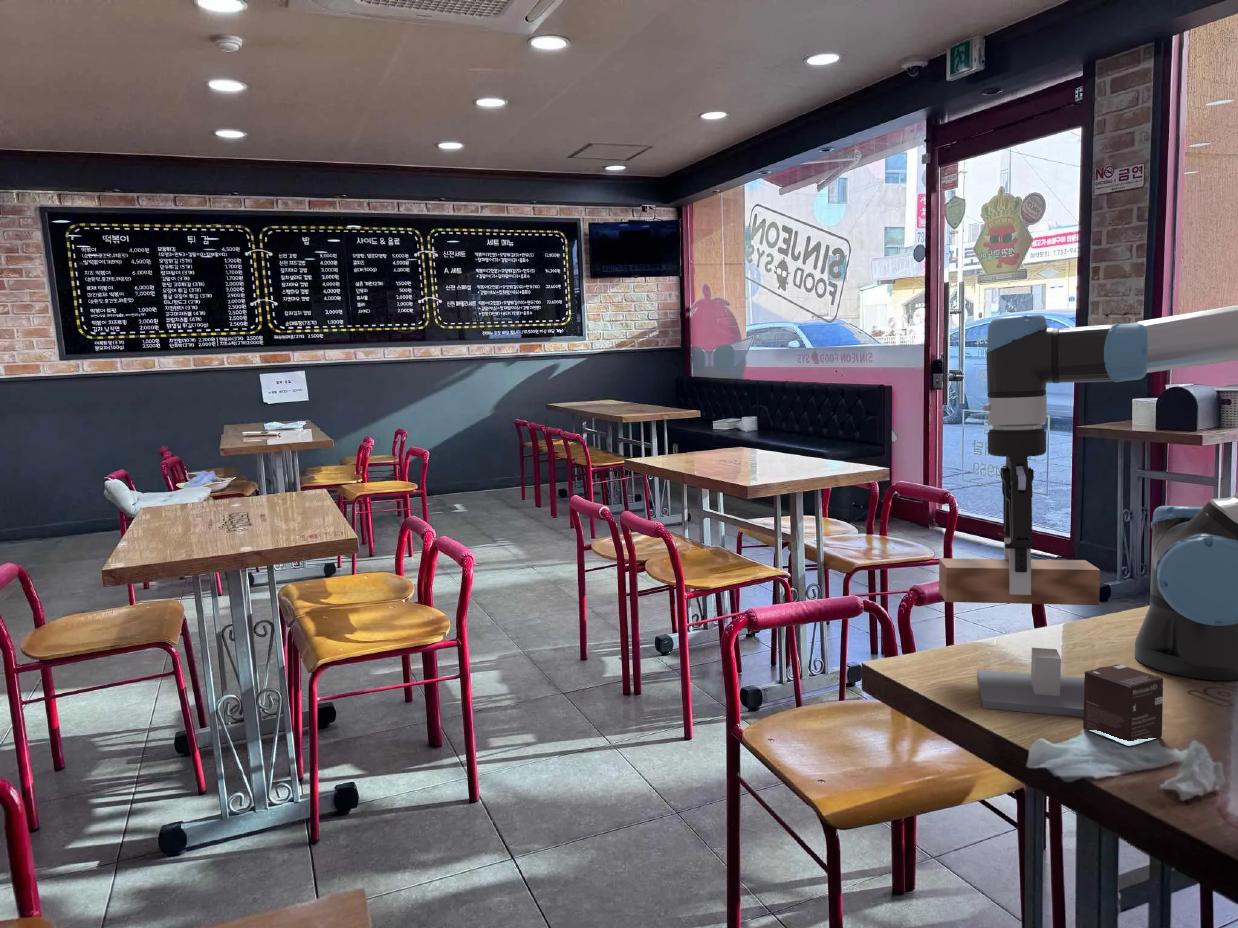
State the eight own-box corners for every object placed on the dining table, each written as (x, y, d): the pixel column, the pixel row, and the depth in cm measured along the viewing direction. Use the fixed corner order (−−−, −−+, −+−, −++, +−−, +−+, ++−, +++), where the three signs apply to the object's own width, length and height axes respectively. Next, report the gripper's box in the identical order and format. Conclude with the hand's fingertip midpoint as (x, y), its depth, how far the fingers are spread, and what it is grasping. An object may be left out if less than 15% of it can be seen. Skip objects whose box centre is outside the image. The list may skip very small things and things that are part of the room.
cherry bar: (1084, 594, 124) (1085, 560, 124) (1098, 605, 119) (1100, 569, 118) (938, 591, 128) (939, 558, 128) (946, 601, 123) (946, 567, 122)
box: (1127, 748, 99) (1129, 686, 98) (1081, 729, 104) (1082, 670, 103) (1163, 738, 101) (1165, 677, 100) (1115, 719, 107) (1117, 662, 106)
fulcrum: (1104, 686, 117) (1105, 643, 117) (1123, 720, 106) (1124, 673, 106) (977, 676, 123) (977, 635, 122) (983, 707, 111) (983, 662, 111)
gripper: (982, 423, 131) (984, 571, 134) (992, 432, 113) (994, 604, 115) (1037, 422, 129) (1037, 573, 131) (1056, 431, 111) (1056, 606, 113)
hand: (1017, 587), depth 123 cm, fingers closed on cherry bar, 6 cm apart
